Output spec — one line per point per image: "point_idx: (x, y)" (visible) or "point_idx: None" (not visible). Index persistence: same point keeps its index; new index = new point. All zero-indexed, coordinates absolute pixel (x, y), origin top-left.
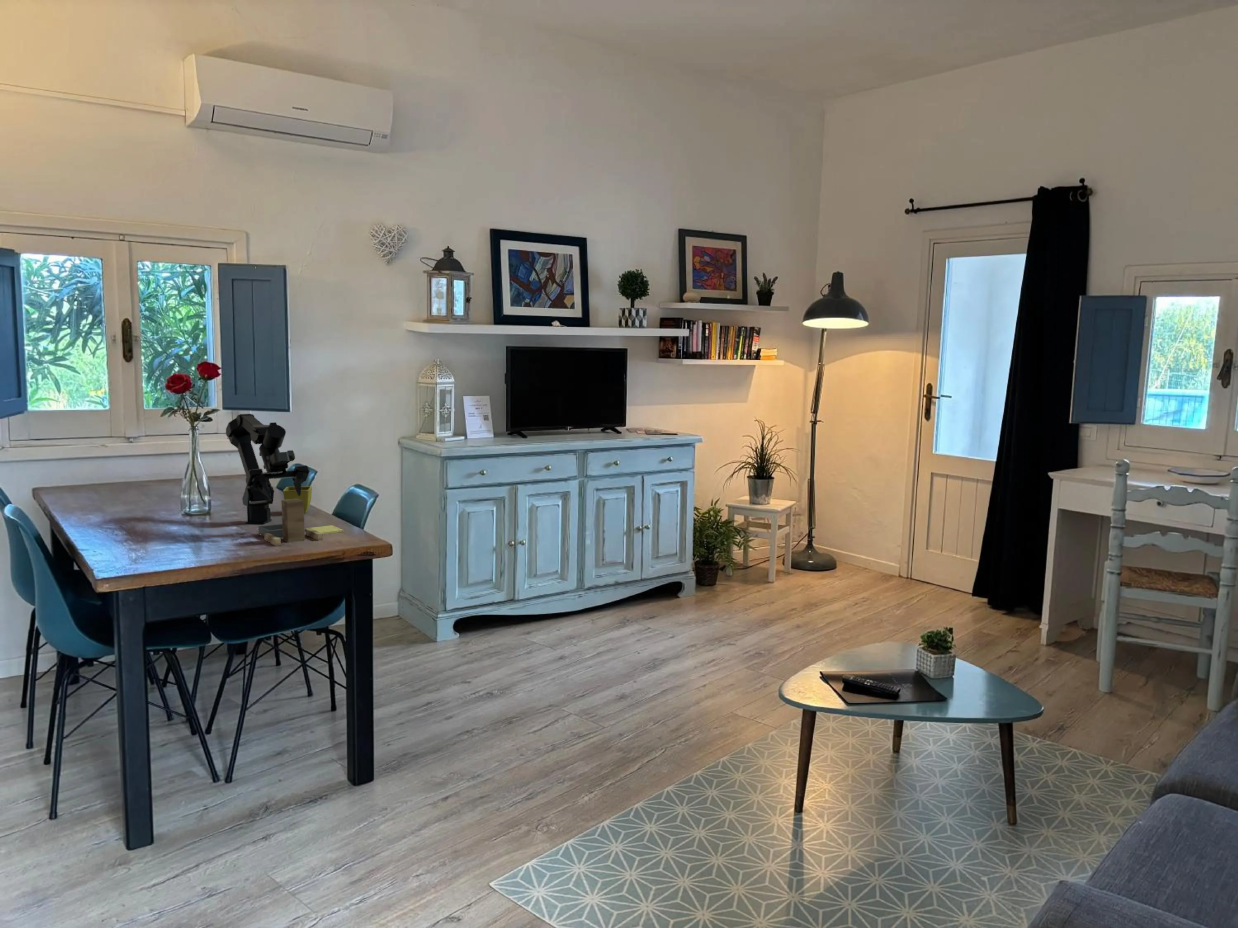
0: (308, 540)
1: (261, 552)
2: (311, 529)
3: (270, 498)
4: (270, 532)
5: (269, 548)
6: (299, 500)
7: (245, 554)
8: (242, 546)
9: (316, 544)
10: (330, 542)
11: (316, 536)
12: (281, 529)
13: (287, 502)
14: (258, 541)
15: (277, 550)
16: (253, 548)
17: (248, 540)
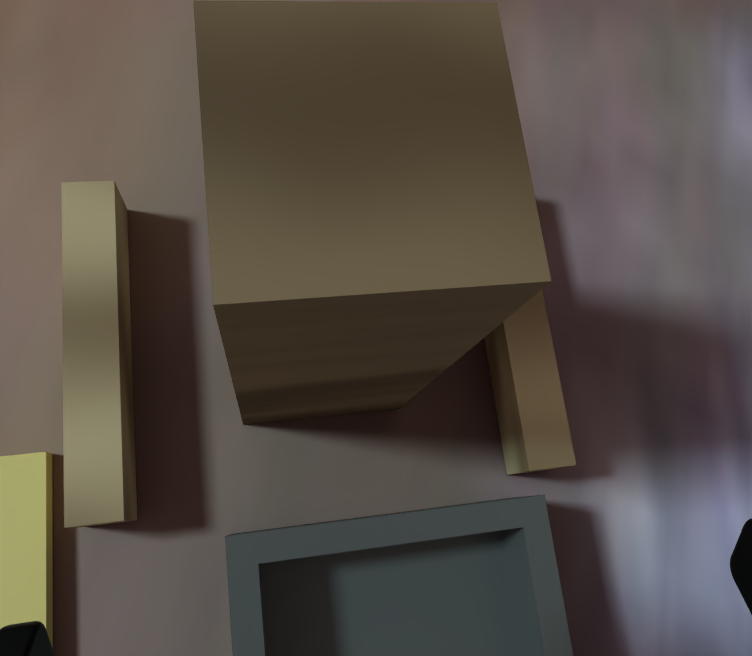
0: (201, 257)
1: (618, 57)
2: (82, 445)
3: (738, 551)
4: (513, 498)
5: (553, 142)
6: (244, 80)
7: (719, 60)
8: (731, 312)
9: (193, 81)
10: (59, 87)
11: (121, 230)
12: (401, 520)
13: (490, 7)
14: (603, 438)
15: (510, 54)
16: (659, 202)
17: (678, 526)
